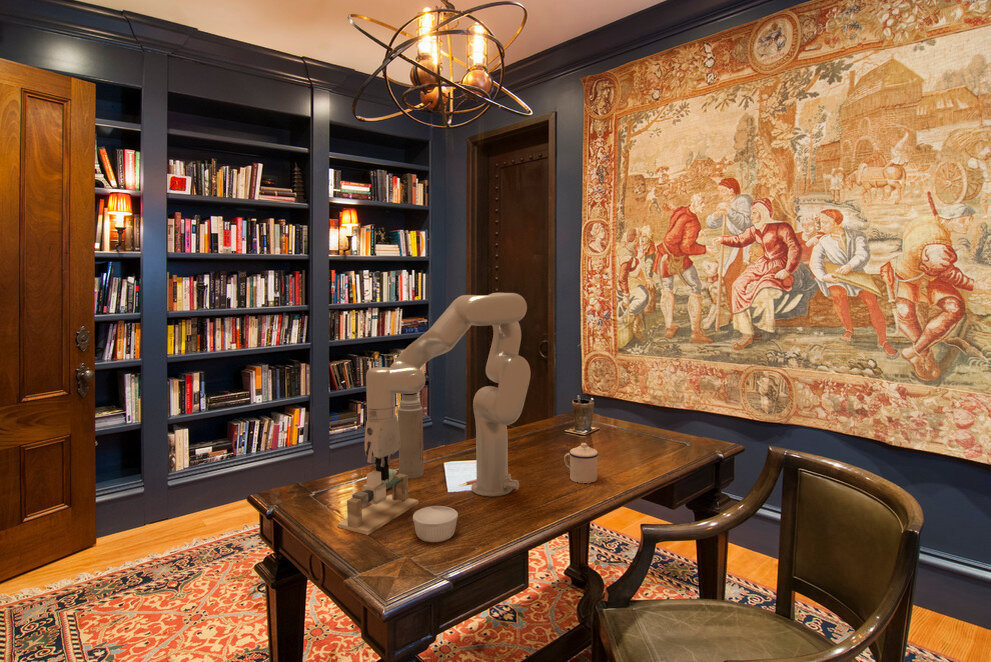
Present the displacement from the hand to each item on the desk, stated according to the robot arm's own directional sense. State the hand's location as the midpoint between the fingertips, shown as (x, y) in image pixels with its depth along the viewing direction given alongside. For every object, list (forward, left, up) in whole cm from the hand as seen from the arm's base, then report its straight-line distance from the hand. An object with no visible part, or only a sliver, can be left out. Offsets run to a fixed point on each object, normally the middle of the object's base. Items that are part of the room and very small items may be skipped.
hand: (382, 478), depth 150 cm
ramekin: (-20, +5, -10) cm, 23 cm away
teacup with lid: (-40, -49, -10) cm, 64 cm away
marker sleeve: (0, +4, -5) cm, 6 cm away
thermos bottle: (+11, -28, -10) cm, 32 cm away
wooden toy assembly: (0, +2, -10) cm, 10 cm away
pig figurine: (+11, -14, -10) cm, 21 cm away
